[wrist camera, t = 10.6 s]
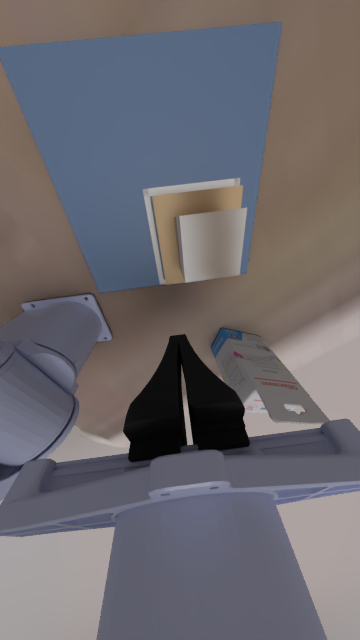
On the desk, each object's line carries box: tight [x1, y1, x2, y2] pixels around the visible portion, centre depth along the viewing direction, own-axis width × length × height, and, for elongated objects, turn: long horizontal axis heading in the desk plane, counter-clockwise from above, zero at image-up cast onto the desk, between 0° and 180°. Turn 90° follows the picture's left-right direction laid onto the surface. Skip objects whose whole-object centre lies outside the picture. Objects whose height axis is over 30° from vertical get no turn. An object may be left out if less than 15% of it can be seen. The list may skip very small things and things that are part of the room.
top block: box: [174, 208, 247, 283], centre depth 13 cm, size 4×4×5 cm
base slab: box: [152, 185, 243, 285], centre depth 17 cm, size 8×8×3 cm
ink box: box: [211, 328, 330, 424], centre depth 22 cm, size 8×5×15 cm, turn 72°
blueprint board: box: [0, 22, 282, 293], centre depth 16 cm, size 20×18×1 cm
